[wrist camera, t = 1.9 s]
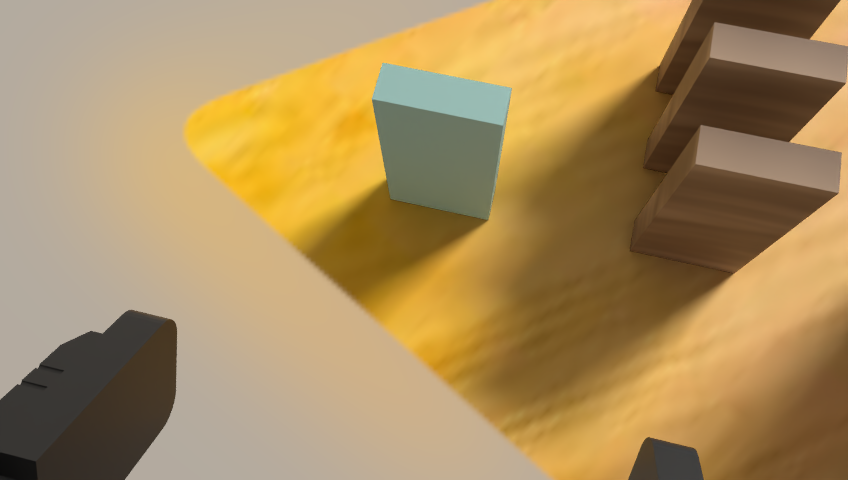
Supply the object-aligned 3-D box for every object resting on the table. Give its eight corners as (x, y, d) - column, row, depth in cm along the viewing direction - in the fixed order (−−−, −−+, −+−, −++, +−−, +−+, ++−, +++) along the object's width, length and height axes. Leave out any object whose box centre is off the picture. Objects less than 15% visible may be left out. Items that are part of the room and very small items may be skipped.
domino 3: (734, 273, 36) (838, 193, 26) (629, 250, 36) (695, 164, 27) (737, 242, 36) (841, 152, 27) (634, 220, 37) (700, 124, 27)
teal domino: (488, 220, 37) (503, 125, 27) (390, 198, 37) (371, 98, 28) (494, 190, 37) (511, 88, 28) (398, 170, 38) (382, 62, 28)
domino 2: (743, 188, 37) (846, 82, 28) (643, 167, 38) (709, 57, 28) (747, 159, 38) (848, 46, 28) (647, 140, 38) (714, 22, 29)
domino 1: (752, 110, 38) (853, -16, 29) (655, 91, 39) (723, -39, 30) (755, 83, 39) (855, -49, 30) (659, 65, 39) (727, -71, 30)
